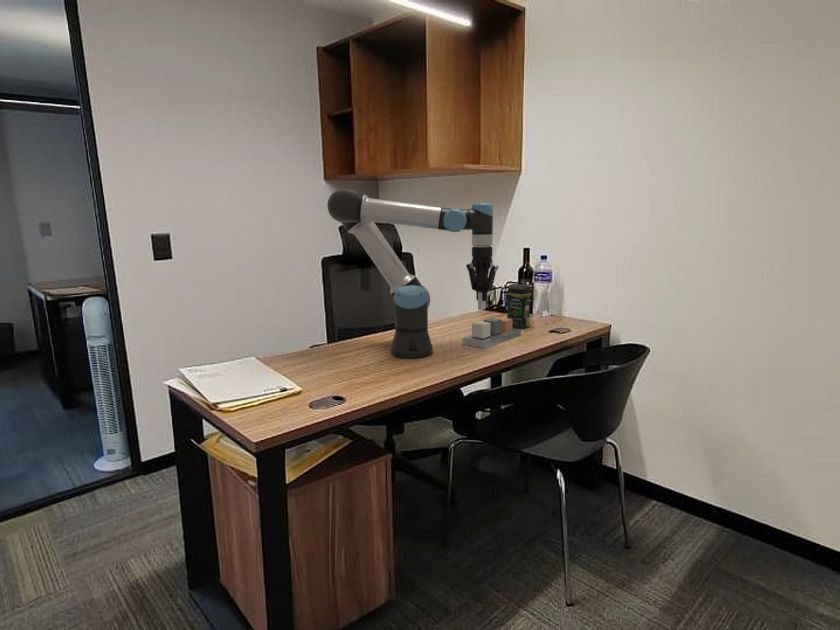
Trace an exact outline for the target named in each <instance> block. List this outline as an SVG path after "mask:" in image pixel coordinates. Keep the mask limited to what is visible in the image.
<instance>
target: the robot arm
mask: <svg viewBox="0 0 840 630" xmlns="http://www.w3.org/2000/svg"><path fill="white" fill-rule="evenodd" d="M328 197H329V198H328V200H327V212H328V214H329V215H330V216H331V218H332V219H334V220H335V221H337V222H338V223H341V224H342V226H343V227H344V229H345V231H346V232H347V233H348V234H352V235H354V236H355V237H356V239H357V241H358V242H359V243H360V246H362V248H363V249H364V250H365V252H366V254H367V255H368V257H370V260H372V262H373V264H374V265H375V267H376V268H377V270H378V271H379V272H380V274H381V275H382V277H383V278H384V279H385V281H386V282H387V284H388V285H389V287H390V292H389V294H390V296H391V297H392V298H393V300H394V301H393V302H394V335H393V339H392V342H391V345H390V354H391V355H392V356H393V357H397V358H399V359H400V358H401V359H421V358H426V357H428V356H431V355H433V354H434V346H433V344H432V341H431V337H430V334H429V331H428V328H429V321H428V320H429V319H428V318H429V317H428V316H429V315H428V314H429V312H428V311H429V307H430V305H431V295H430V293H429V291H428V288H426V287H425V286H424V285H422V283H421V282H420V281H419V279H418V277H417V276H416V275H413V274H411V273H409V271H408V270H407V268H406V267H405V266H404V264H403V263H402V261H401V260H400V258H399V257H398V255H397V254H396V253H395V251H394V249H393V248H392V247H391V245H390V244H389V242H388V240H387V239H386V238H385V236H384V235H383V233H382V232H381V231H380V229H379V227H378V226H377V225H376V223H384V224H393V225H400V226H408V227H417V228H425V229H432V230H440V231H446V232H450V233H459V232H461V231H470V230H471V246H472V247H471V257H472V259H471V262H470V263H468V264H466V265H465V266H466V269H467V271H468V276H469V280H470V285H471V287H470V288H471V290H473V291H475V292H476V293H475V295H476V301H477V310H478V311H483V310H486V301H488V292H491V291H492V290H493V286H494V281H495V278H496V273H497V271H498V269H499V266H498V265H496V264H494V260H493V246H492V245H493V242H494V241H493V231H494V229H493V228H494V227H493V226H494V210H493V207H494V206H493V205H492V203H489V202H482V203H481V202H480V203H478V202H475V203H472V205H471V208H467V209H466V208H448V207H442V206H441V207H440V206H434V205H425V204H418V203H412V202H410V203H409V202H402V201H395V200H385V199H380V198H379V199H378V198H372V197H371V198H370V197H369V196H368V195H367V194H363V193H360V192H358V191H357V190H355V189H347V188H346V189H345V188H342V189H341V188H340V189H337V190H335V191H333V192H332V193H331V194H330V196H328ZM375 222H376V223H375Z"/></svg>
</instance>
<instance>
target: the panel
mask: <svg viewBox="0 0 840 630" xmlns="http://www.w3.org/2000/svg"><path fill="white" fill-rule="evenodd" d="M521 332H522V328H514V327H512V330H511V331H508V332H500V333H497V334H490V336H488V337H485V338H478V337H473V336H472V334H471V335H467V336H464V337H462V345H464V346H469V345H470V346H469V347H475V348H478V349H479V348H480V349H487V348H490V347H492V346H495V345H498V344H501V343H504V342H507V341H509V340H512V339H515V338H517V337H519V336H521V335H522V333H521Z"/></svg>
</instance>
